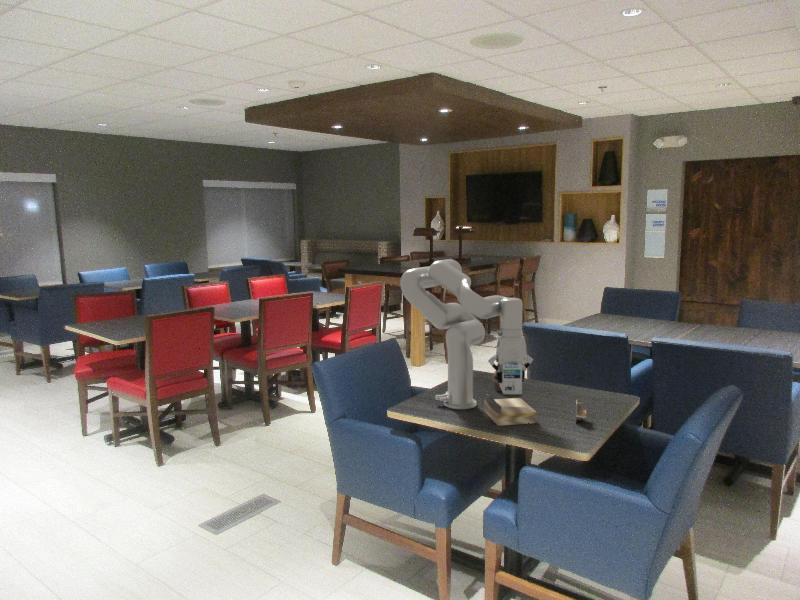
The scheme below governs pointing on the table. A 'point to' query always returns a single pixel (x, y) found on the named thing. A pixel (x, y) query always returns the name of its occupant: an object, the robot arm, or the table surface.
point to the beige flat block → (509, 411)
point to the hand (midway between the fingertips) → (510, 381)
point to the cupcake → (496, 382)
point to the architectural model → (579, 410)
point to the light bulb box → (511, 378)
